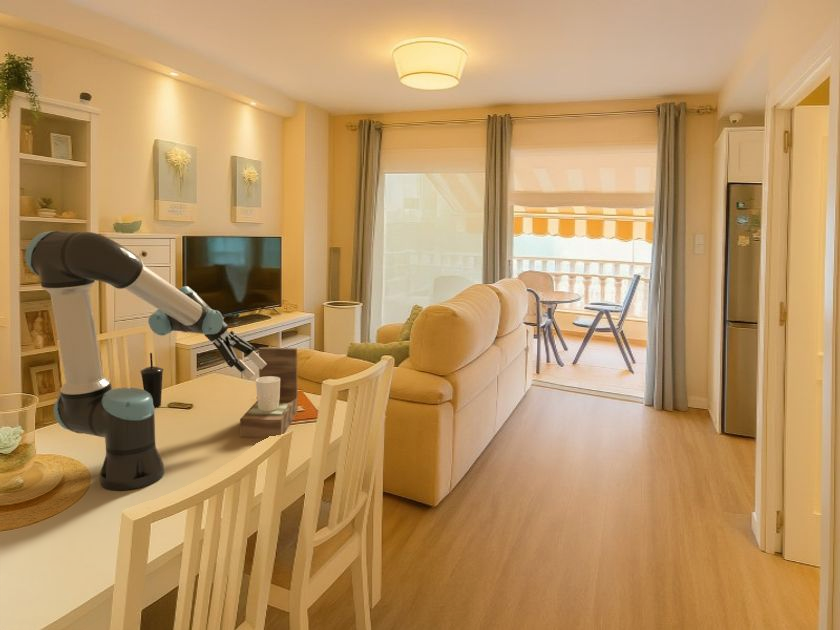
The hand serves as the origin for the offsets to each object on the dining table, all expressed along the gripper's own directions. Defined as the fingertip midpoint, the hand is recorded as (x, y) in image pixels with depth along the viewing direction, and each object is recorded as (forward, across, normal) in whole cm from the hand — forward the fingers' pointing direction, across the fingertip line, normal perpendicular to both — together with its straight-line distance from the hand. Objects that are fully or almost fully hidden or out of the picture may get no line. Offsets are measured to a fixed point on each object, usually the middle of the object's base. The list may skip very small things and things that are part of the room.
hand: (258, 372), depth 185 cm
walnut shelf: (+16, -2, -11) cm, 19 cm away
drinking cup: (-18, -17, -45) cm, 51 cm away
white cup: (+11, 0, -6) cm, 13 cm away
